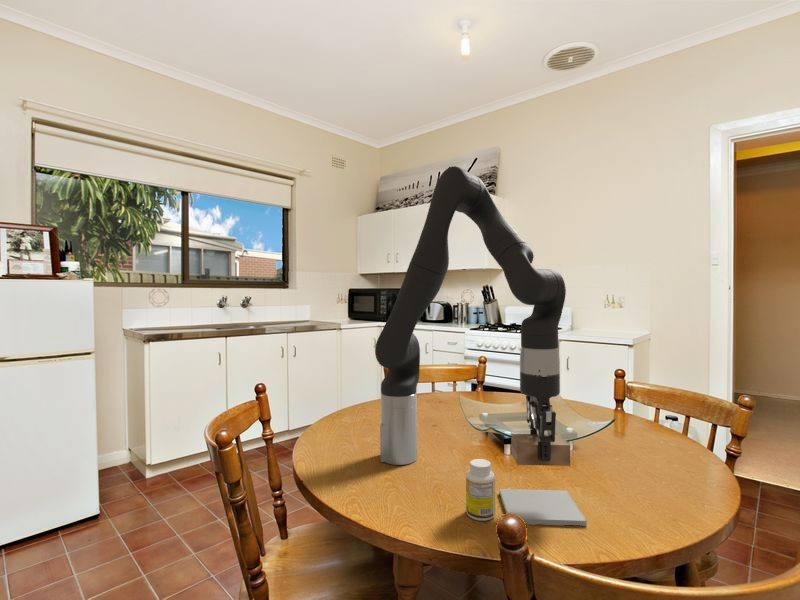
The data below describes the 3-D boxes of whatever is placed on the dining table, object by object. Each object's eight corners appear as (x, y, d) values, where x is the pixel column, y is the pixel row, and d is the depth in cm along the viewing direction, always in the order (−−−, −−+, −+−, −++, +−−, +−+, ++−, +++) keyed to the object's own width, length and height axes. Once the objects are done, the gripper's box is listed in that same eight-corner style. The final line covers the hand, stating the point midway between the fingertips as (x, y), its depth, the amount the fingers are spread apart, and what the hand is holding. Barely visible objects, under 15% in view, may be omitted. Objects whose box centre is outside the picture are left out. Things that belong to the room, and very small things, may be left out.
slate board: (509, 523, 81) (509, 518, 81) (499, 493, 93) (499, 488, 93) (586, 526, 80) (586, 520, 80) (566, 495, 92) (566, 490, 92)
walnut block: (517, 464, 84) (517, 444, 84) (511, 452, 90) (511, 433, 90) (570, 465, 83) (570, 445, 83) (560, 453, 89) (560, 434, 89)
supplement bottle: (475, 504, 88) (475, 454, 88) (500, 513, 85) (500, 461, 84) (460, 515, 84) (460, 463, 84) (486, 525, 80) (486, 471, 80)
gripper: (513, 363, 93) (514, 441, 94) (528, 377, 79) (528, 468, 79) (549, 363, 93) (549, 441, 93) (570, 377, 78) (570, 469, 79)
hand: (540, 453), depth 86 cm, fingers closed on walnut block, 6 cm apart
